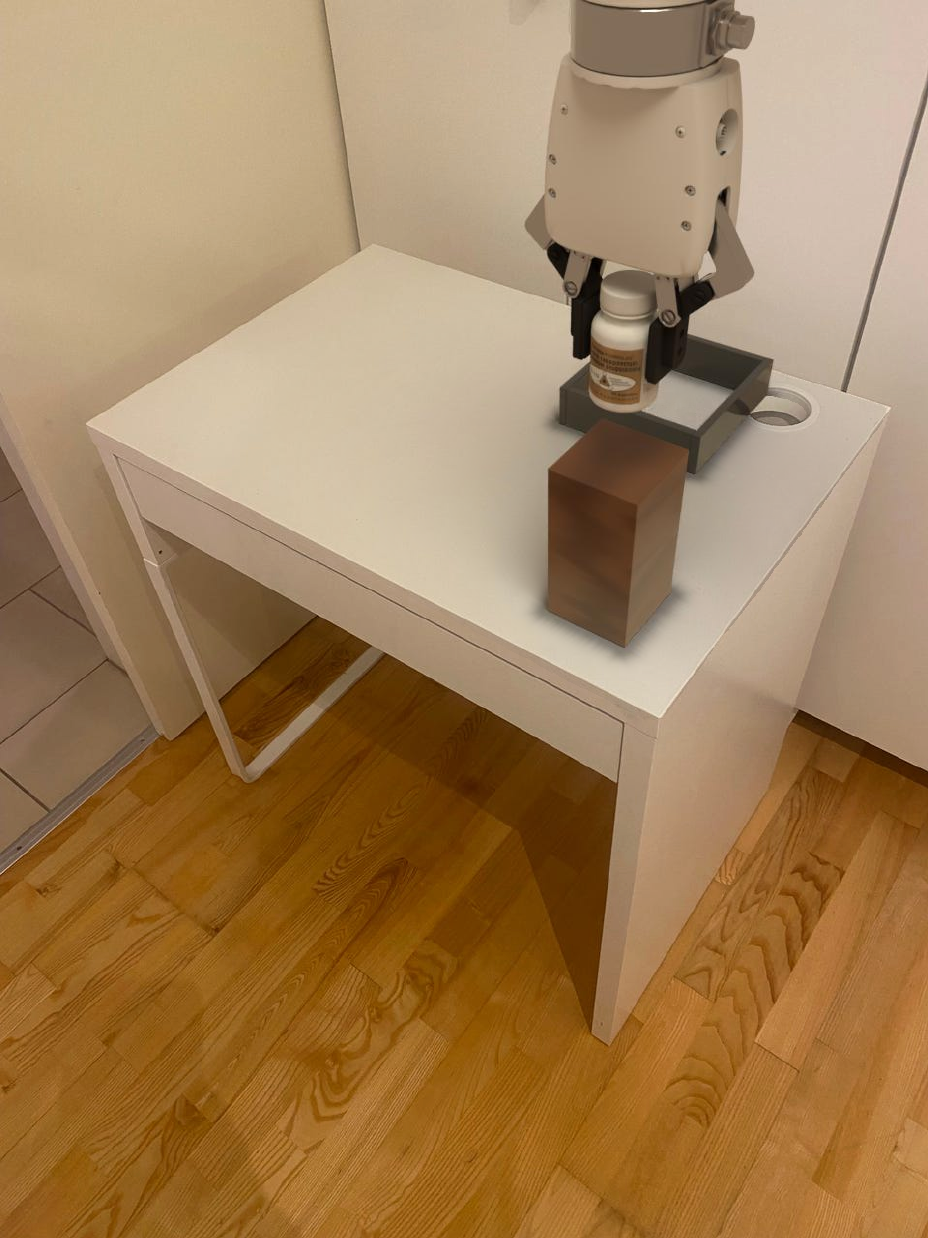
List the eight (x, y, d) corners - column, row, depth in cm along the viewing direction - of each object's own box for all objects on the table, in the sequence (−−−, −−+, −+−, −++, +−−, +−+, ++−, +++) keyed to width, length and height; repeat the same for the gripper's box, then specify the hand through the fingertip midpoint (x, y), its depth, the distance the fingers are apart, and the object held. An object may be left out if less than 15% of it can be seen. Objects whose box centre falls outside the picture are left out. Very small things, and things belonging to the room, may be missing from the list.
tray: (766, 395, 93) (774, 359, 90) (695, 474, 86) (700, 437, 83) (636, 353, 100) (638, 318, 97) (558, 422, 92) (559, 387, 89)
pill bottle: (575, 401, 61) (578, 289, 56) (611, 369, 64) (617, 258, 58) (635, 423, 59) (644, 308, 54) (670, 389, 62) (682, 276, 56)
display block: (670, 593, 76) (689, 449, 65) (624, 648, 72) (637, 505, 62) (594, 559, 79) (601, 417, 69) (547, 610, 75) (547, 468, 65)
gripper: (847, 30, 45) (778, 372, 58) (546, -9, 52) (546, 300, 66) (778, 81, 41) (721, 434, 54) (463, 30, 48) (481, 350, 62)
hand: (625, 358), depth 60 cm, fingers closed on pill bottle, 4 cm apart
